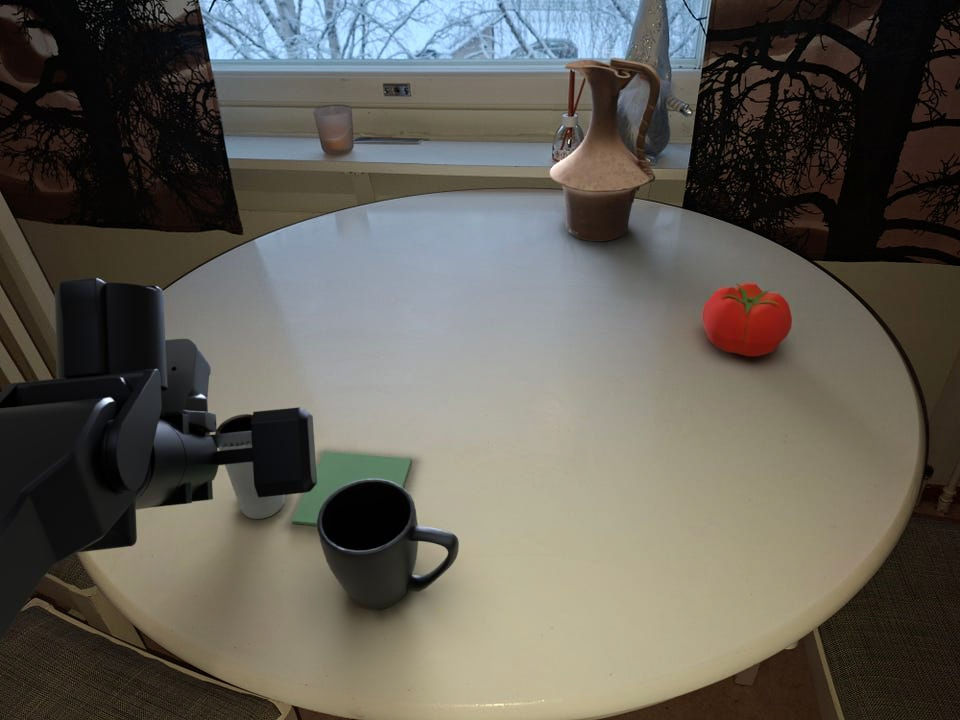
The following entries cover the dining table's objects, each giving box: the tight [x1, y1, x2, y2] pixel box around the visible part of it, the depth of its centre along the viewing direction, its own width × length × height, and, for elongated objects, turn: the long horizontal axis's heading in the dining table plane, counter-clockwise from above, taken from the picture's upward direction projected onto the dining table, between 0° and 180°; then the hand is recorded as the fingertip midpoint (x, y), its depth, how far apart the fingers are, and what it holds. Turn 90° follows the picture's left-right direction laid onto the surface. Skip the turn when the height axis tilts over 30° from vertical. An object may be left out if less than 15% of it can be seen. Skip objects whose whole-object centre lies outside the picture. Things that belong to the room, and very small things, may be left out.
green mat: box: [291, 450, 413, 527], centre depth 71 cm, size 10×10×1 cm
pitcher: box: [549, 57, 661, 242], centre depth 111 cm, size 18×17×28 cm
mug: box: [316, 479, 460, 611], centre depth 59 cm, size 8×12×10 cm
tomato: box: [701, 282, 793, 357], centre depth 88 cm, size 11×11×8 cm
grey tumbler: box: [214, 413, 286, 520], centre depth 67 cm, size 4×4×10 cm
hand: (219, 462), depth 57 cm, fingers open, 9 cm apart
